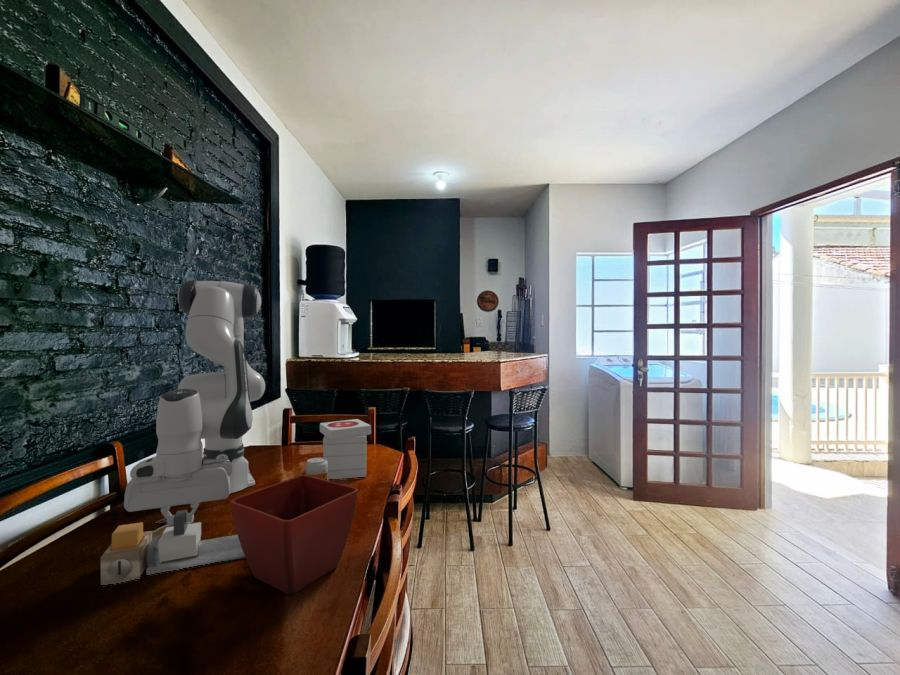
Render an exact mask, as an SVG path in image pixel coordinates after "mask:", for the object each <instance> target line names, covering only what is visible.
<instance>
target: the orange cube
mask: <svg viewBox="0 0 900 675" xmlns="http://www.w3.org/2000/svg"><path fill="white" fill-rule="evenodd" d="M143 532H144V522H143V521H141V522H136V523H135V522H134V523H129V524H121V525H118V526H117V528H115V530H114V531H113V532H112V534H111V544H112V551H113V550H119V549H125V548H131V547H137V546H138V545H139V543H140V542H141V540H142V539H143Z"/></svg>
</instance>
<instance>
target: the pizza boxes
mask: <svg viewBox="0 0 900 675" xmlns="http://www.w3.org/2000/svg"><path fill="white" fill-rule="evenodd" d="M319 432H320V433H321V434H322V435H323V438H322V445H323V446H322V456H323V457H322V458H326V460H327V462H328V479H340V478H352V477H365V476H366V477H367V455H368V454H367V450H368V448H367V436H369V435H372V425H371V424H369V423H367V422H364V421H362V420H360V419H358V418H353V419H345V420H339V421H338V420H336V421H327V422H320V423H319ZM340 480H341V479H340Z"/></svg>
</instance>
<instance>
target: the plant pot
mask: <svg viewBox="0 0 900 675" xmlns="http://www.w3.org/2000/svg"><path fill="white" fill-rule="evenodd" d="M358 491H359V490H358V488H356V487H352V486H349V485H345V484H341V483H337V482H334V481H331V480H328V481H327V480H323V479H319V478H315V477H312V476H308V475H306V474H301V475H297V476H294V477H292V478H288V479H286V480H283V481H280V482H277V483H275V484H272V485H269V486H266V487H263V488H261V489H258V490H255V491H252V492H249V493H246V494H243V495H240V496H238V497H235V498H232V499H230V501H229V505H230V511H231V515H232V516H231V517H232V520H233V524H234V527H235V532H236V535H238V538H239V541H240V544H241V547H242V550H243V552H244V555H245V557H246V558H245V559H246V562H247V564H248V566H249V568H250V571H251V572H252V575H253V577H254V578H256V579H257V580H259V581H260V582H263V583H265V584H267V585H269V586H271V587H273V588H275V589H277V590H278V591H281V592H283V593H285V594H287V595H294V594H297V592H300V591H301V590H302V589H304V588H306V587H307V586H309V585H310V584H312V583H314V582H315V581H317V580H318V579H320V578H321V577H323V576H324V575H326V574H328V573H330V572H331V571H333V570H335V569H336V568H338V566H339V565H340V564H339V563H340V561H341V559H342V557H343V553H344V550H345V548H346V544H347V541H348V538H349V534H350V531H351V528H352V524H353V520H354V515H355V510H356V503H357V499H358Z"/></svg>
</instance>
